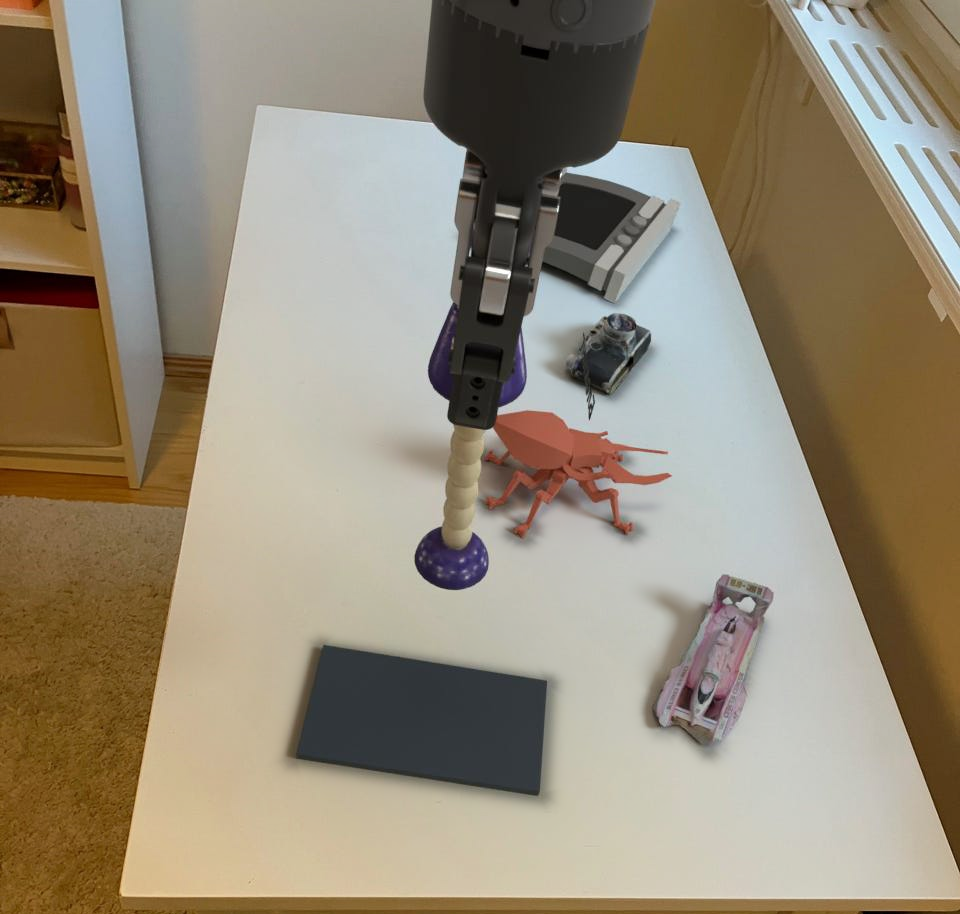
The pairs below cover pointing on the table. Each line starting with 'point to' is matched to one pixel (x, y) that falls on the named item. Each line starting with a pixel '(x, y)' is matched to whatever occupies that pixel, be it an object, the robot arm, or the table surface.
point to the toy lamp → (460, 480)
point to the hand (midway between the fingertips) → (476, 385)
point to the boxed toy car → (715, 664)
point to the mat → (426, 720)
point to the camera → (611, 351)
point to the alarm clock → (606, 231)
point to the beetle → (563, 457)
